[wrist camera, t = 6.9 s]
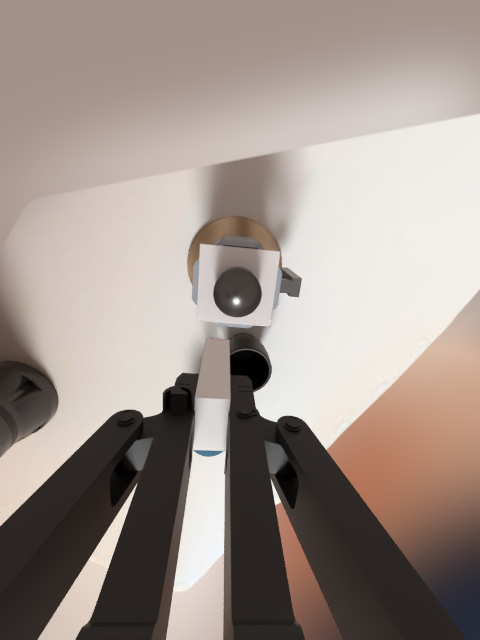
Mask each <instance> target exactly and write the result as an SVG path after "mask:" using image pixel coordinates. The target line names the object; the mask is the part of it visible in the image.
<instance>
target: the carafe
mask: <svg viewBox="0 0 480 640" xmlns="http://www.w3.org/2000/svg"><path fill="white" fill-rule="evenodd" d="M279 258H280V251H273V250H265V249H264V248H263V246H262V245H261V244H260V243H259V242H257V241H256V240H254V239H252V238H251V237H244V236H234V235H225V236H222V237H221V238H220V239H219V240H218V241H217V242H216V243H214V244H213V245H211V244H200V256H199V259H198V260H197V261H196V262H195V264H194V266H193V289H192V299H193V301H194V303H195V304H196V305H197V317H196V321H205V322H213V323H214V324H215V325H216V324H217V326H227V327H240V328H249V326H250V328H251V327H252V326H254V325H255V326H268V327H270V323H271V316H272V311H273V310H274V309H275V308H277V307H276V306H278V299H279V293H287V294H288V295H289V296H291V297H299V292H300V286H301V280H302V278H300V277H299V276H298V275H296V274H295V273H294V272H292V271H291V270H290V269H288V268H282V267H280V268H279V267H278V266H279ZM231 267H244V268H246V269H248V270H250V271H251V272H252V273H253V274H254V275H255V276H256V278H257V279H258V281H259V283H260V286H261V290H262V297H261V301H260V304H259V306H258V307H257V308H256V310H255V311H253V312H252V313H251V314H249V315H247V316H244V317H231V316H228V315H226V314H224V313H223V312H221V311H220V310H219V309H218V307H217V306H216V304H215V302H214V297H213V290H214V286H215V282H216V280H217V278H218V276H219V275H220V274H221V273H222V272H223V271H224V270H226V269H228V268H231Z"/></svg>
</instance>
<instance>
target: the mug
mask: <svg viewBox="0 0 480 640" xmlns="http://www.w3.org/2000/svg"><path fill="white" fill-rule="evenodd" d="M229 346H230V375H240V376H247V377H248V378H249V379H250V380H251V381H252V388H253V392H255V391H257V390H259V389H261V388H262V387H264V386H265V385H266V383H267V382H268V380H269V379H270V376H271V372H272V366H271V363H270V359H269V356H268V353H267V351H266V349H265V348H264V346H263V345H262V344H261V343H260V342H259V341H258V340H257V339H256V338H254V337H253V336H252V335H250V334H247V333H240V334H237V335H235V336H234V337H233V338H232V339H231V340H230V341H229Z"/></svg>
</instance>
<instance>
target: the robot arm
mask: <svg viewBox="0 0 480 640" xmlns="http://www.w3.org/2000/svg"><path fill="white" fill-rule="evenodd" d="M57 407H58V398H57V394H56V391H55V389H54V387H53V385H52V384H51V382H50V381H49V380H48V379H47V378H46V377H45V376H44V375H43V374H42V373H40V372H39V371H37V370H36V369H34V368H32V367H30V366H27V365H25V364H21V363H17V362H0V458H1V457H2V455H3V454H4V453H5V452H6V451H7V450H8V449H9V448H10V447H11V446H12V445H13V444H15V443H16V442H18V441H20V440H22V439H24V438H26V437H27V436H29V435H31V434H33V433H35V432H37V431H38V430H40V429H41V428H43V427H44V426H45V425H46V424H47V423H48V422H49V421H50V420H51V419H52V417H53V416H54V415H55V413H56V411H57ZM192 449H193V450H209V451H226V458H225V469H224V474H225V537H224V633H223V638H224V639H223V640H305V639H304V634H303V631H302V629H301V626H300V624H299V623H298V622H297V621H296V620H295V617H294V613H293V609H292V603H291V597H290V592H289V585H288V580H287V574H286V567H285V561H284V555H283V550H282V544H281V538H280V532H279V526H278V520H277V515H276V508H275V502H274V496H273V490H272V485H271V480H272V482H273V484H274V486H275V489H276V491H277V493H278V495H279V498H280V500H281V502H282V504H283V506H284V509H285V511H286V513H287V515H288V518H289V520H290V522H291V524H292V526H293V529H294V531H295V533H296V535H297V538H298V540H299V542H300V544H301V547H302V549H303V551H304V553H305V555H306V558H307V560H308V562H309V564H310V566H311V569H312V571H313V573H314V575H315V577H316V580H317V582H318V584H319V587H320V589H321V591H322V593H323V595H324V598H325V600H326V602H327V604H328V607H329V609H330V611H331V613H332V615H333V618H334V620H335V622H336V624H337V626H338V628H339V631H340V633H341V636H342V638H343V640H467V639H466V638H465V636H464V635H463V634H462V632H461V631H460V630H459V628H458V627H457V626H456V625H455V623H454V622H453V620H452V619H451V618H450V616H449V615H448V613H447V612H446V611H445V610H444V608H443V607H442V605H441V604H440V603H439V601H438V600H437V599H436V597H435V596H434V595H433V593H432V592H431V591H430V589H429V588H428V587H427V585H426V584H425V583H424V581H423V580H422V579H421V577H420V576H419V574H418V573H417V572H416V570H415V569H414V568H413V567H412V565H411V564H410V562H409V561H408V560H407V559H406V557H405V556H404V554H403V553H402V552H401V550H400V549H399V548H398V546H397V545H396V544H395V542H394V541H393V540H392V538H391V537H390V536H389V534H388V533H387V531H386V530H385V529H384V527H383V526H382V525H381V523H380V522H379V521H378V519H377V518H376V517H375V515H374V514H373V513H372V511H371V510H370V509H369V507H368V506H367V505H366V503H365V502H364V501H363V499H362V498H361V497H360V495H359V494H358V493H357V491H356V490H355V488H354V487H353V486H352V484H351V483H350V482H349V481H348V479H347V478H346V476H345V475H344V474H343V472H342V471H341V470H340V468H339V467H338V466H337V464H336V463H335V462H334V460H333V459H332V457H331V456H330V455H329V454H328V452H327V451H326V449H325V448H324V447H323V445H322V444H321V443H320V441H319V440H318V439H317V437H316V436H315V435H314V433H313V432H312V431H311V429H310V428H309V427H308V425H307V424H306V423H305V422H304V421H303V420H301V419H299V418H298V417H294V416H283V417H281V418H279V419H278V421H277V422H273V421H270V420H267V419H265V418H263V417H261V416H260V414H259V412H258V410H257V409H256V407H255V400H254V394H253V388H252V381H251V380H250V379H249V378H248V377H247V376H240V375H230V346H229V339H214V338H206V341H205V346H204V351H203V357H202V362H201V367H200V373H199V374H190V373H182V374H181V375H180V376H179V377H177V379H176V382H175V386H173V387H169V388H168V389H166V390H165V391H164V392H163V411H162V413H160V414H158V415H155V416H151V417H145V418H143V415H142V414H141V413H140V412H139V411H136V410H123V411H120V412H117V413H115V414H114V415H113V416H111V417H110V418H109V419H108V420H107V421H106V422H105V423H104V424H103V425H102V426H101V427H100V428H99V429H98V430H97V431H96V432H95V433H94V434H93V435H92V436H91V437H90V438H89V439H88V440H87V441H86V442H85V443H84V444H83V445H82V446H81V447H80V448H79V449H78V450H77V451H76V452H75V453H74V454H73V455H72V456H71V457H70V458H69V459H68V460H67V461H66V462H65V463H64V464H63V465H62V466H61V467H60V468H59V469H58V470H57V471H56V472H55V473H54V474H53V475H52V476H51V477H50V478H49V479H48V480H47V481H46V482H45V483H44V484H43V485H42V486H41V487H40V488H39V489H38V490H37V491H36V492H35V493H34V494H32V495H31V496H30V497H29V498H28V499H27V500H26V501H25V502H24V503H23V504H22V505H21V506H20V507H19V508H18V509H17V510H16V511H15V512H14V513H13V514H12V515H11V516H10V517H9V518H8V519H7V520H6V521H5V522H4V523H3V524H2V525H1V526H0V640H37V639H38V638H39V636H40V635H41V633H42V632H43V630H44V628H45V627H46V625H47V624H48V622H49V620H50V619H51V618H52V616H53V614H54V613H55V611H56V610H57V608H58V606H59V605H60V603H61V602H62V600H63V599H64V597H65V596H66V594H67V592H68V591H69V589H70V588H71V586H72V585H73V583H74V581H75V579H76V578H77V577H78V575H79V574H80V572H81V570H82V569H83V567H84V566H85V564H86V563H87V561H88V559H89V558H90V556H91V555H92V553H93V552H94V550H95V548H96V547H97V545H98V544H99V542H100V541H101V539H102V537H103V536H104V534H105V533H106V531H107V530H108V528H109V526H110V525H111V523H112V522H113V520H114V519H115V517H116V515H117V514H118V512H119V511H120V509H121V508H122V506H123V504H124V503H125V501H126V500H127V498H128V497H129V495H130V494H131V492H132V490H133V489H134V487H135V486H136V484H137V483H138V484H137V487H136V490H135V493H134V496H133V498H132V501H131V504H130V507H129V510H128V513H127V516H126V519H125V522H124V525H123V528H122V531H121V533H120V536H119V539H118V542H117V545H116V548H115V551H114V554H113V557H112V560H111V563H110V565H109V568H108V571H107V574H106V577H105V580H104V583H103V586H102V589H101V592H100V595H99V598H98V601H97V604H96V606H95V609H94V612H93V614H92V617H91V619H90V621H89V622H88V623H87V624H86V625H85V626H83V627H82V628H81V631H80V632H79V634H78V636H77V638H76V640H166V634H167V627H168V621H169V613H170V607H171V600H172V592H173V586H174V580H175V573H176V566H177V559H178V552H179V545H180V538H181V532H182V525H183V518H184V511H185V504H186V497H187V490H188V484H189V477H190V470H191V463H192ZM270 478H271V479H270Z"/></svg>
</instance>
